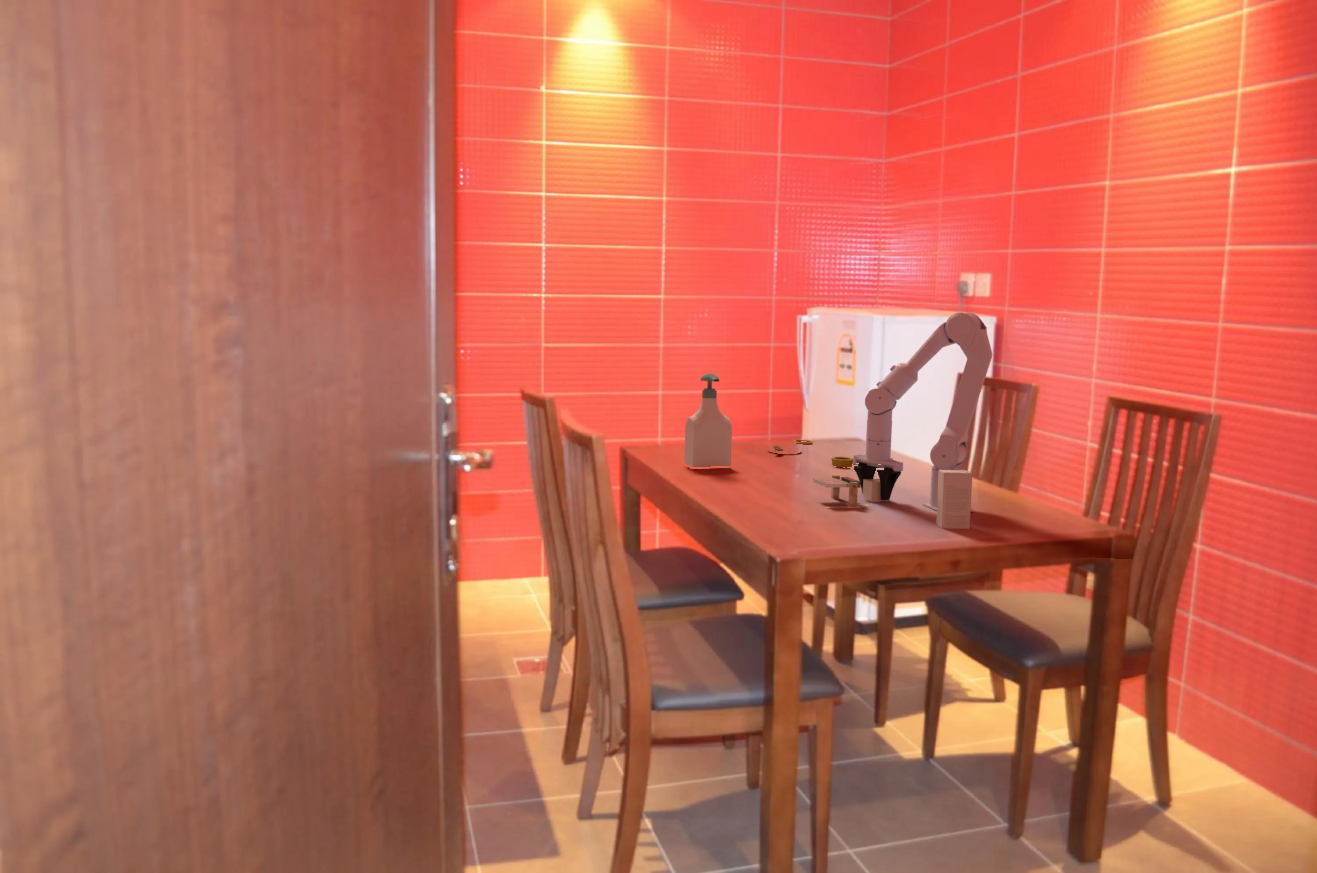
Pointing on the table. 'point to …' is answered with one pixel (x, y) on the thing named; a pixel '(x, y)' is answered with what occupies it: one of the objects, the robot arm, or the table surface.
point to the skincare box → (954, 499)
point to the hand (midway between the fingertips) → (876, 497)
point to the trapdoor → (835, 482)
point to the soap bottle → (708, 431)
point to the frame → (852, 495)
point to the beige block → (872, 490)
